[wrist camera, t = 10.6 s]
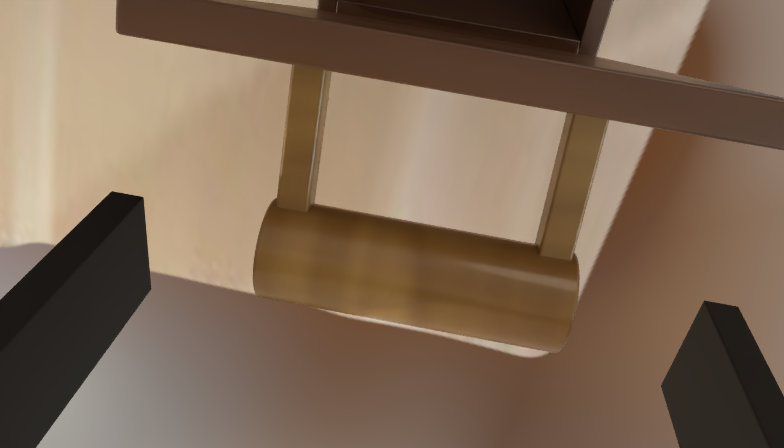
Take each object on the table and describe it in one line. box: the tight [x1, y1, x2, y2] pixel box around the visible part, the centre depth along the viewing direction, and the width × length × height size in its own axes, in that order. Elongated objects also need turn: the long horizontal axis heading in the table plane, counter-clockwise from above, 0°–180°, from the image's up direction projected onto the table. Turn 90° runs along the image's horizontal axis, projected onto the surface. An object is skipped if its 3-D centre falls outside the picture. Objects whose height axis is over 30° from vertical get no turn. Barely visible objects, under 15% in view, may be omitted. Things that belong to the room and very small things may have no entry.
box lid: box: [116, 0, 784, 353], centre depth 19 cm, size 16×12×6 cm
